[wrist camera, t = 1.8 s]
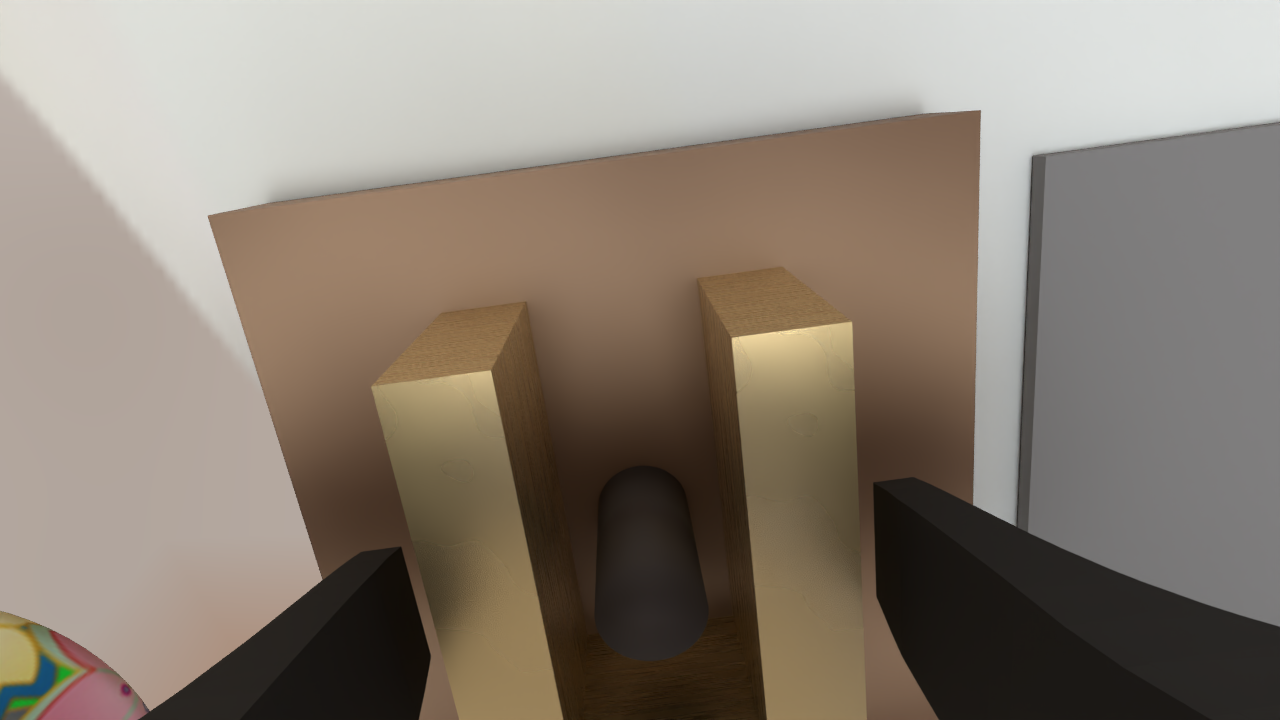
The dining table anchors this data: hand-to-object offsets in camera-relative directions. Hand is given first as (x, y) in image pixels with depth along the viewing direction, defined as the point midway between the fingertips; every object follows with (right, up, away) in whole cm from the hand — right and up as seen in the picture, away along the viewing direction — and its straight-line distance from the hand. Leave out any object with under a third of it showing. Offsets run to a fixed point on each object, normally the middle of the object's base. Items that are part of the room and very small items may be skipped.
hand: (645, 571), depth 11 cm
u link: (0, +1, +2) cm, 2 cm away
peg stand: (0, +1, +4) cm, 4 cm away
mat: (+14, +2, +4) cm, 15 cm away
